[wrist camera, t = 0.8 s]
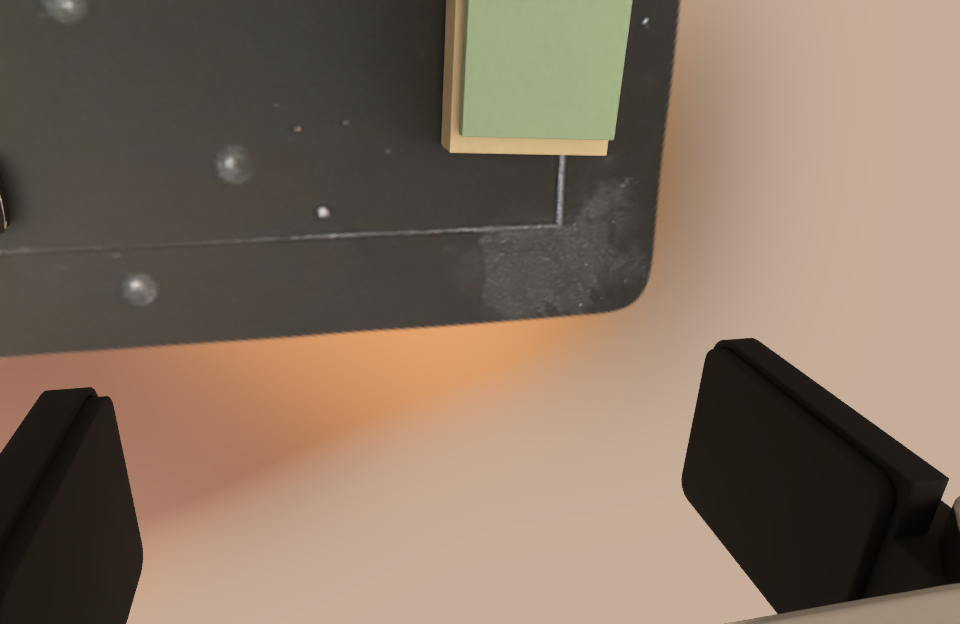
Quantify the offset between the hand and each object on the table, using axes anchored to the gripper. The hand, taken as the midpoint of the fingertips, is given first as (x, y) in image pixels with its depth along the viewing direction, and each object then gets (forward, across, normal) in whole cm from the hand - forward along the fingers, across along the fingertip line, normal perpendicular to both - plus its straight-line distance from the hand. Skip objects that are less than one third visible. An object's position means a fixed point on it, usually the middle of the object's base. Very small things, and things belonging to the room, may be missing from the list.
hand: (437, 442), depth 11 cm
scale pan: (+24, -9, -7) cm, 26 cm away
